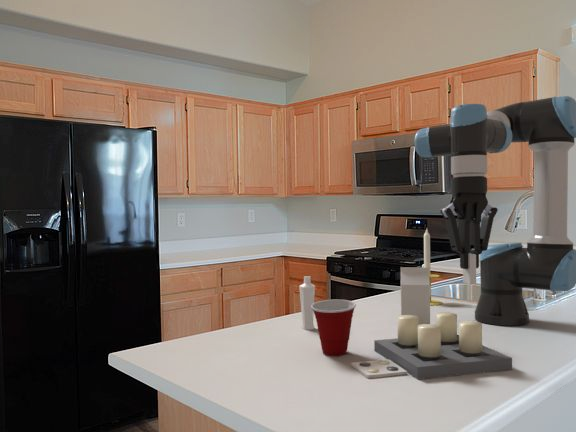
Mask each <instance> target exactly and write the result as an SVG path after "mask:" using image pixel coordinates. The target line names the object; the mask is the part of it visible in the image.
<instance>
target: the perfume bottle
mask: <svg viewBox="0 0 576 432" xmlns="http://www.w3.org/2000/svg"><path fill="white" fill-rule="evenodd" d="M298 288H299V299H300V310H301V319H302V320H301V323H302V324H301V329H302V330H304V331H306V330H307V331H308V330H311V331H312V330H314V329H315V325H314V316H315V314H314V311H313V310H312V308H311V305H312V304H313V303H315V292H316V285H314V284H313V283H312V282H311V276H310V275H308V276H307V275H305V276H303V283H302V284H300V285H299V287H298Z"/></svg>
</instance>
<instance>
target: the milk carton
mask: <svg viewBox="0 0 576 432" xmlns="http://www.w3.org/2000/svg"><path fill="white" fill-rule="evenodd" d="M400 315H414V316H417V317H418V318H419V325H421V324H431V306H430V281H429V268H424V267H417V266H416V267H413V266H412V267H409V266H408V267H403V266H400Z"/></svg>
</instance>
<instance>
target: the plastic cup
mask: <svg viewBox="0 0 576 432" xmlns="http://www.w3.org/2000/svg"><path fill="white" fill-rule="evenodd" d="M356 306H357V304H356V302H355V301H352V300H347V299H337V298H336V299H325V300H319V301H316V302H314V303H313V304H312V305H311V308H312V310H313V311H314V316H315V317H314V318H315V319H316V320H315V321H316V325H317V331H318V336H319V340H320V346H321V352H322V354H323V355H326V356H331V357H337V356H338V357H340V356H344V355H346V354H347V351H348V348H349V347H348V345H349V340H350V335H351V327H352V321H353V316H354V311H355V308H356Z"/></svg>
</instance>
